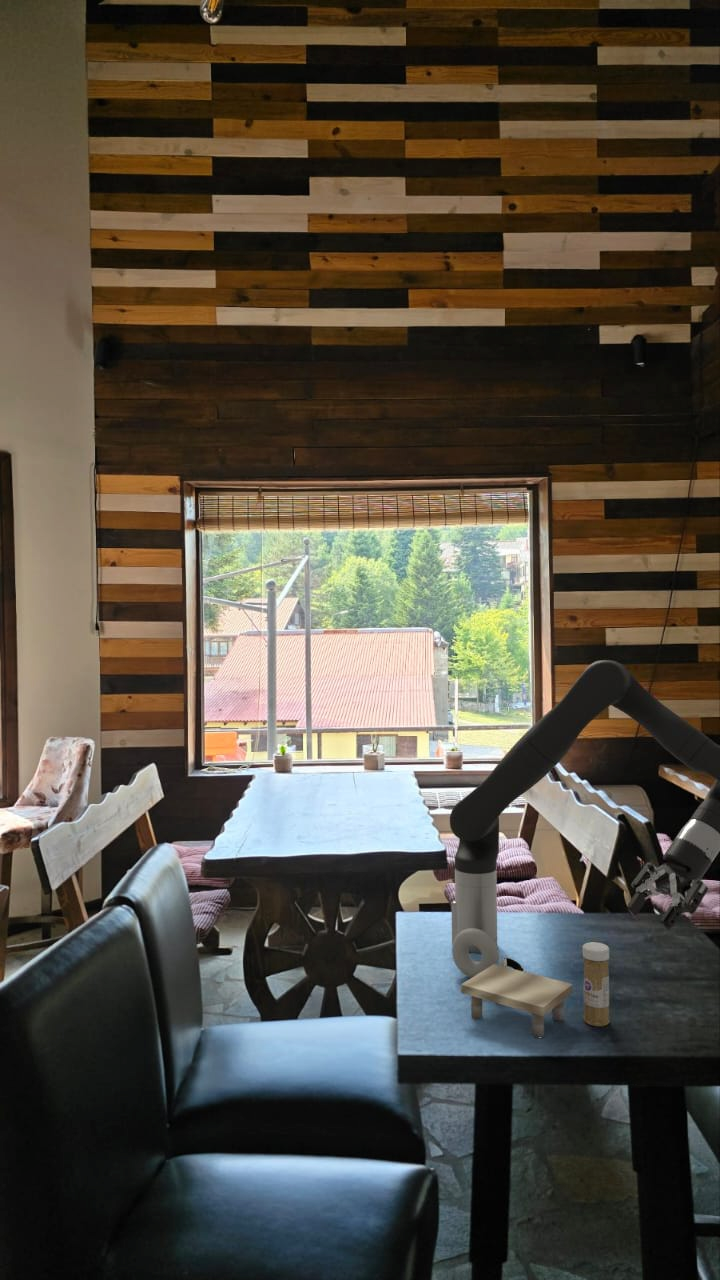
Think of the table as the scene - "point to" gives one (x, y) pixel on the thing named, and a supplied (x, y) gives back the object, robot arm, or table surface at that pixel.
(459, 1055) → the table surface
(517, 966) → the watch
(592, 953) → the sprinkles bottle
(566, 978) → the table surface
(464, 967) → the donut
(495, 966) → the small wooden stool
